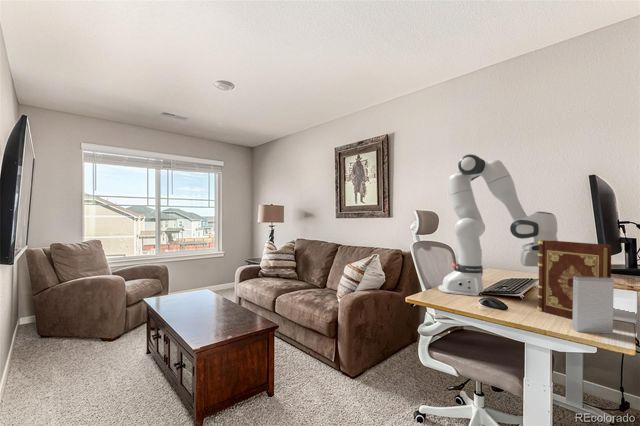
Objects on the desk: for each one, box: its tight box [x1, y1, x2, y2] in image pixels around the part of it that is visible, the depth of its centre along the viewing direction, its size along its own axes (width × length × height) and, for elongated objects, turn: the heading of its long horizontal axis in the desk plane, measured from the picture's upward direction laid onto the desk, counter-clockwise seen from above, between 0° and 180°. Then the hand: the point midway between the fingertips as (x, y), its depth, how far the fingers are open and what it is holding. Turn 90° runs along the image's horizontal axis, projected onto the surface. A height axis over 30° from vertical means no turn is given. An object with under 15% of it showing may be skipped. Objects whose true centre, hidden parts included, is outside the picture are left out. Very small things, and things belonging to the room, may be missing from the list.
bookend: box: [571, 276, 615, 335], centre depth 106 cm, size 11×2×19 cm, turn 81°
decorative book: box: [536, 240, 612, 320], centre depth 122 cm, size 22×8×30 cm, turn 29°
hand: (546, 276), depth 139 cm, fingers closed
